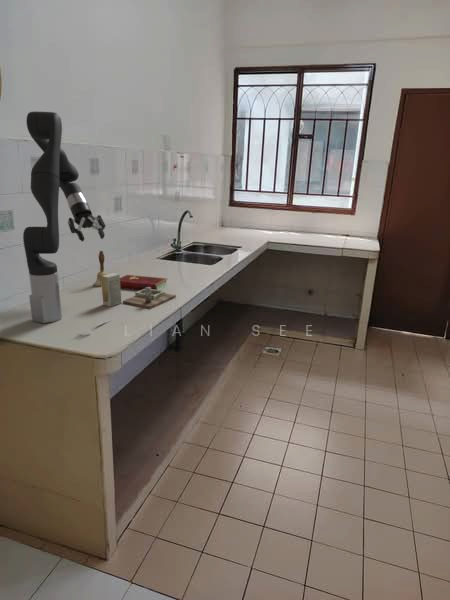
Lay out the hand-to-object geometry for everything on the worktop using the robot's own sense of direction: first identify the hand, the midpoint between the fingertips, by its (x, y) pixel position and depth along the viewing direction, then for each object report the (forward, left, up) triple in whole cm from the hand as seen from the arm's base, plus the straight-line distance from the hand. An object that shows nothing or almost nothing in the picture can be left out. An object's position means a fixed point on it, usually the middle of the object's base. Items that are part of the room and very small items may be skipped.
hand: (93, 239), depth 174 cm
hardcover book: (+23, -6, -25) cm, 35 cm away
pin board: (+7, -22, -25) cm, 34 cm away
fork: (-26, -25, -25) cm, 44 cm away
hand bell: (+16, +12, -25) cm, 32 cm away
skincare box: (-5, -12, -25) cm, 28 cm away
